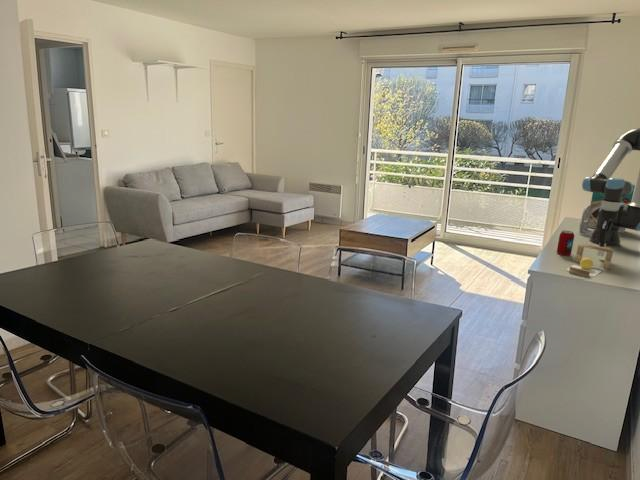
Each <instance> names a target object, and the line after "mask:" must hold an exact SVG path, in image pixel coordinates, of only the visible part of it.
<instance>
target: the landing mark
mask: <svg viewBox="0 0 640 480" xmlns="http://www.w3.org/2000/svg"><path fill="white" fill-rule="evenodd" d="M570 267H575V268H579V269H583V268H582V267H581V266H580V265H577V264H573V265H571V266H570ZM570 267H568V268H567V269H565V271H568V272H569V270H570ZM584 270H588V271H590V274H589V277H592V278H595V277H596V276H598V275H599V274H600V273H601V272H602V270H599V269H593V268H590V269H584Z"/></svg>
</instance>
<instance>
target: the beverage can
mask: <svg viewBox="0 0 640 480" xmlns="http://www.w3.org/2000/svg"><path fill="white" fill-rule="evenodd" d="M574 240H575V234H574V231H570V230H561V232H560V233H559V236H558V243H557V248H556V253H557V254H558V255H559V256H566V257H568V256H569V255H571V254H572V251H573V247H574V246H573V245H574Z"/></svg>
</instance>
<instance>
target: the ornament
mask: <svg viewBox="0 0 640 480" xmlns="http://www.w3.org/2000/svg"><path fill="white" fill-rule="evenodd" d="M590 215H591V206H590V205H586V206H585V208H584V210H583V212H582V216H581V221H580V223H579V231H578V233H577V235H580V236H585V237H591V235H592V233H593V232H594V230H595V229H594V228H589V227H588V226H589V222H590Z"/></svg>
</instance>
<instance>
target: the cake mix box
mask: <svg viewBox="0 0 640 480" xmlns="http://www.w3.org/2000/svg"><path fill="white" fill-rule="evenodd" d="M632 185H633V191H632V193H631V194H629V195H627V196H622V197H621V203H623V204H625V206H624V207H628V204H629V203H631V202H632V200H633V196H634V191H635V187H636V184H632ZM603 198H604V194H602V193H595V192H592V194H591V200H590V204H589V206H591V215H590V222H589V226H588V229H595V228H596V224H597V219H598V214H599V209H600V206H601V204H602V203H601V202H603ZM626 229H627V228H622V227H620V228H619V233H623V234H624V233H625V232H626Z"/></svg>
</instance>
